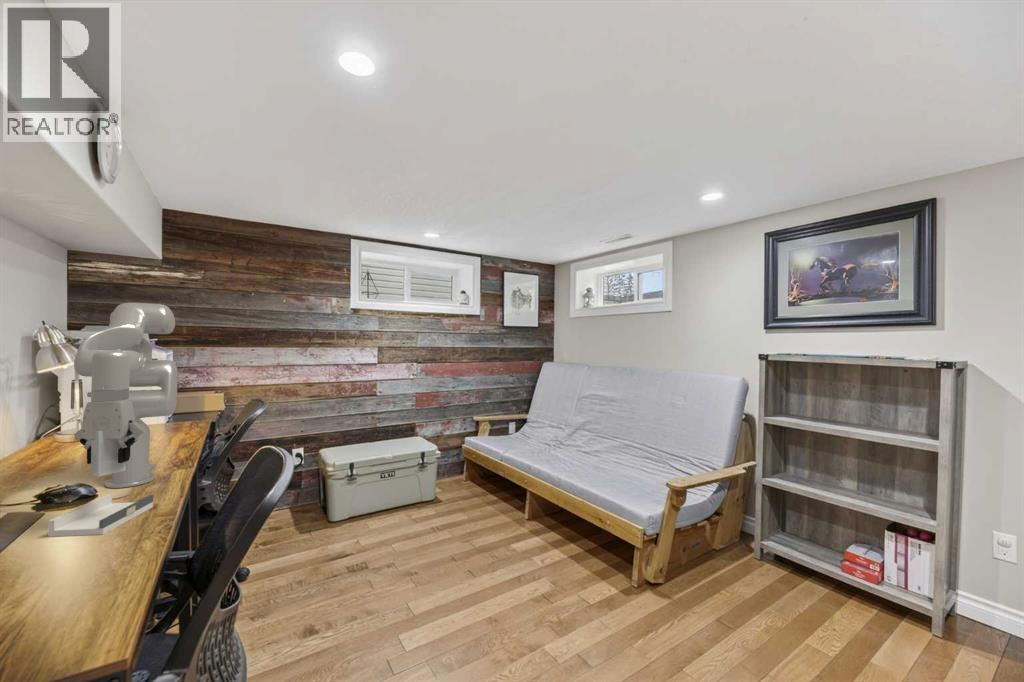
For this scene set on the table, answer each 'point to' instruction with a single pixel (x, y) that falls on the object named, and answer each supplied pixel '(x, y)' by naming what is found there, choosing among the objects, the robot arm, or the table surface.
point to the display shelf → (90, 518)
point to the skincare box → (105, 456)
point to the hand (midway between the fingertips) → (108, 461)
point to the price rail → (125, 511)
